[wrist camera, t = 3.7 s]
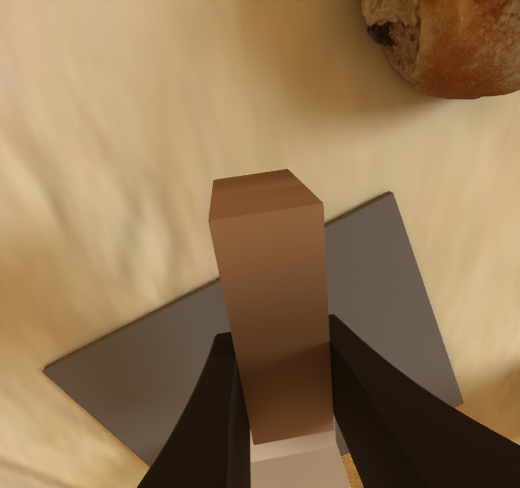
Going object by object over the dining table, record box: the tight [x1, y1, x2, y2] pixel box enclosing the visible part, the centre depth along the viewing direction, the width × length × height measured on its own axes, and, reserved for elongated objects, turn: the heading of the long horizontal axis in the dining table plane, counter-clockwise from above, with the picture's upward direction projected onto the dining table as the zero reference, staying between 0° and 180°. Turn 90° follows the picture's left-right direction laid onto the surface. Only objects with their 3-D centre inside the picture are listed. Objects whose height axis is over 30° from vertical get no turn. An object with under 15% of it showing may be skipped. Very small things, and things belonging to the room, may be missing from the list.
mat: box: [42, 191, 463, 467], centre depth 21 cm, size 18×22×1 cm
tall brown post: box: [209, 169, 336, 462], centre depth 11 cm, size 13×4×4 cm, turn 8°
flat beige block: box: [251, 443, 351, 488], centre depth 20 cm, size 2×6×6 cm, turn 98°
